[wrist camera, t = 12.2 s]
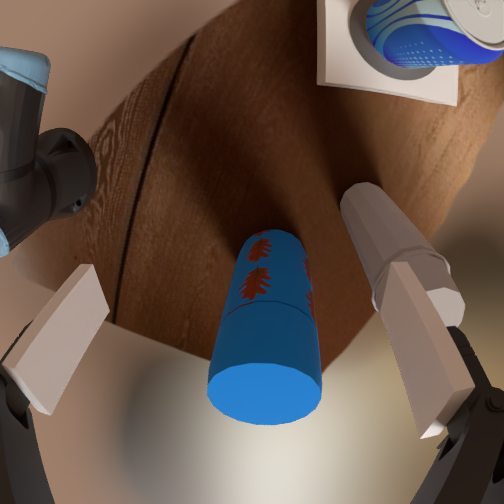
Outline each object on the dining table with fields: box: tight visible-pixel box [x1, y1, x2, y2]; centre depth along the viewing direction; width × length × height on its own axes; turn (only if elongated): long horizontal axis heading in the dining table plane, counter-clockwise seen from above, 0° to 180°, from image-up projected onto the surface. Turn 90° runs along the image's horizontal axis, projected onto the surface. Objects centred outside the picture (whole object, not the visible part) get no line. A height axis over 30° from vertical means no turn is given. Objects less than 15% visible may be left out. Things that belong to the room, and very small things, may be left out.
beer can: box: [366, 0, 504, 69], centre depth 16 cm, size 8×8×16 cm
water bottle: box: [340, 182, 465, 327], centre depth 31 cm, size 9×8×25 cm
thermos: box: [207, 230, 322, 425], centre depth 37 cm, size 11×11×25 cm
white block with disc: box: [317, 0, 458, 106], centre depth 27 cm, size 16×14×8 cm
